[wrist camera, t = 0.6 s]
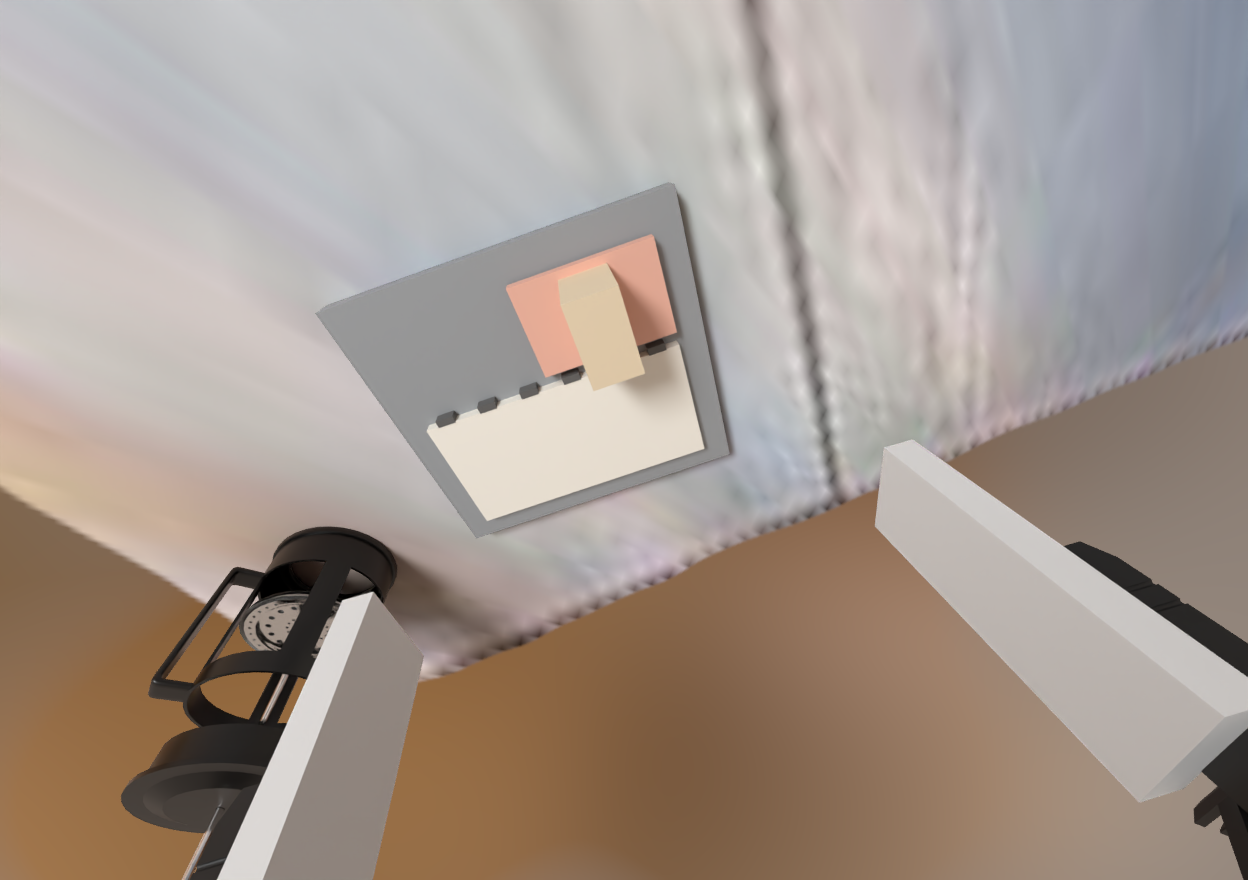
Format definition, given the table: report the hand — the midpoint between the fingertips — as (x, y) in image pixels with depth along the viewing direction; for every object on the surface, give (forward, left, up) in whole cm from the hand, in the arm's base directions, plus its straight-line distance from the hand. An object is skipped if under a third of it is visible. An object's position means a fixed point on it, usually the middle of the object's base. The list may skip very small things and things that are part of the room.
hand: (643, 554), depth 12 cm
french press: (+28, +14, -22) cm, 38 cm away
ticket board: (+4, +5, -22) cm, 23 cm away
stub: (-1, 0, -20) cm, 20 cm away
